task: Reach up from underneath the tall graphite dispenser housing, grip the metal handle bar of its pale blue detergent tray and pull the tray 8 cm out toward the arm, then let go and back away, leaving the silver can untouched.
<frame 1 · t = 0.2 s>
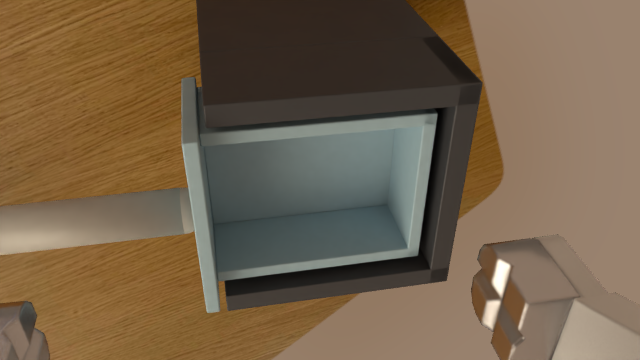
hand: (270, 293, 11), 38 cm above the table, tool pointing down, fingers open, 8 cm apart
dispenser housing: (271, 8, 47), on the table
detergent tray: (247, 191, 27), point 24 cm above the table, slide at 0.0 cm
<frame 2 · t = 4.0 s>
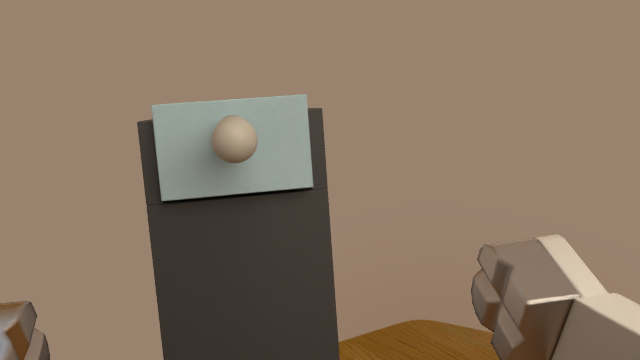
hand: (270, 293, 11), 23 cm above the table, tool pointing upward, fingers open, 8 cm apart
detergent tray: (234, 144, 37), point 24 cm above the table, slide at 0.0 cm
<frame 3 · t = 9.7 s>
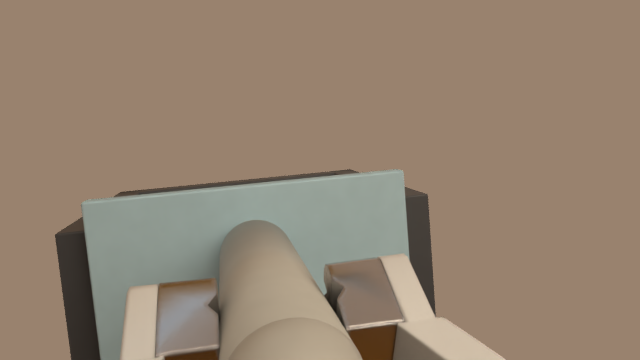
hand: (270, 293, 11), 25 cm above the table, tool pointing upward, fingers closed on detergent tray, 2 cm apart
detergent tray: (253, 264, 19), point 24 cm above the table, slide at 0.0 cm, touching gripper
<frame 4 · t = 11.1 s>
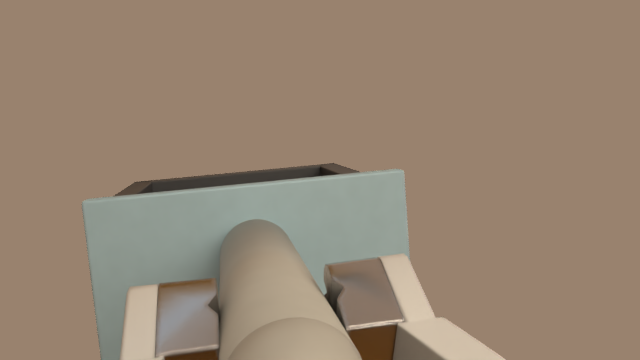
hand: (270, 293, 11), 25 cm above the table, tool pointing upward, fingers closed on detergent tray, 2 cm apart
detergent tray: (254, 263, 19), point 24 cm above the table, slide at 4.5 cm, touching gripper
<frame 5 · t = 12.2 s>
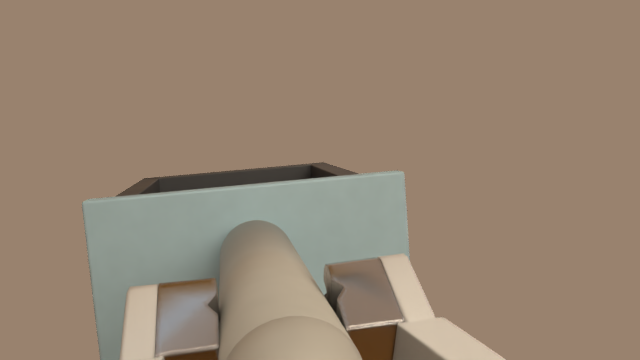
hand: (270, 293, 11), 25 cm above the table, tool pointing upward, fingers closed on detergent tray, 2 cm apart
detergent tray: (254, 265, 19), point 24 cm above the table, slide at 8.0 cm, touching gripper
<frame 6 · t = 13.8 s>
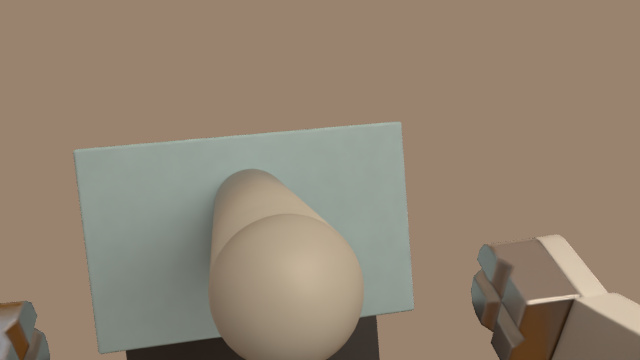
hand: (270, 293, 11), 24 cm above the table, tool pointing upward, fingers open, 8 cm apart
detergent tray: (249, 222, 19), point 24 cm above the table, slide at 8.1 cm
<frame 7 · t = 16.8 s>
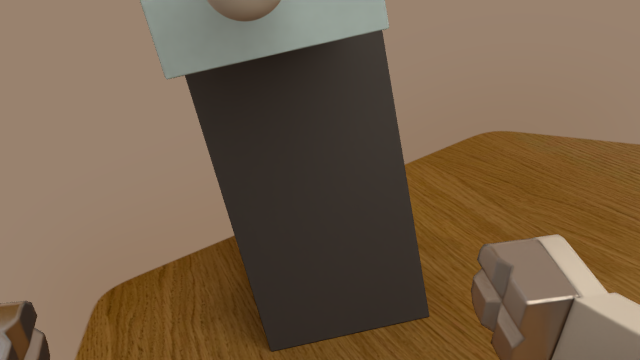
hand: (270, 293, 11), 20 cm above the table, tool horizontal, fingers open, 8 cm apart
dispenser housing: (341, 288, 45), on the table
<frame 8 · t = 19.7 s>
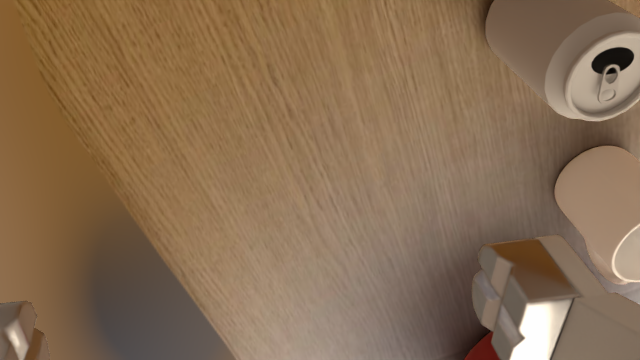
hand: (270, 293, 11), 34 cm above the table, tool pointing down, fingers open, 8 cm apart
mug: (585, 191, 59), on the table
mixing bowl: (517, 349, 73), on the table
can: (524, 13, 47), on the table
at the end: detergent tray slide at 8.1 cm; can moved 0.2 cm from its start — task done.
